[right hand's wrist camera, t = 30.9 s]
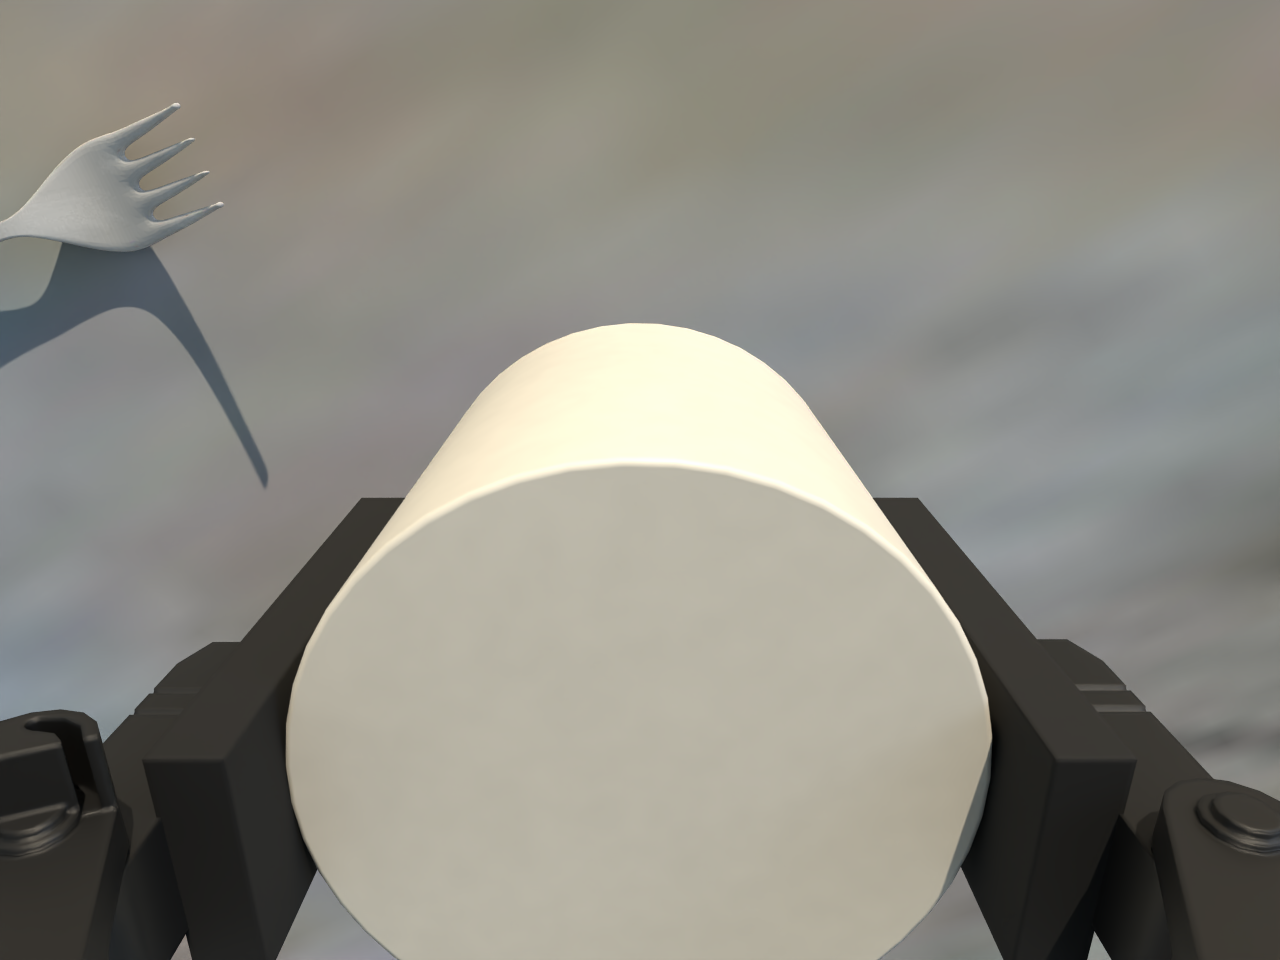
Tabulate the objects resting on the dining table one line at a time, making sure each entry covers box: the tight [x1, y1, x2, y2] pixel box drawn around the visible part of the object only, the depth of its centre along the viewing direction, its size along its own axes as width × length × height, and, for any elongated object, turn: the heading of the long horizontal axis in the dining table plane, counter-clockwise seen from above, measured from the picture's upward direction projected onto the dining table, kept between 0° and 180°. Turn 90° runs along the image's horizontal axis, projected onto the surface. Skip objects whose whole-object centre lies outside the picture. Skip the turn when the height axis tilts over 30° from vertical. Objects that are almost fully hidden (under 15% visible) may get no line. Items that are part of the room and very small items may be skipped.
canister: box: [286, 323, 992, 960], centre depth 13 cm, size 8×8×7 cm
